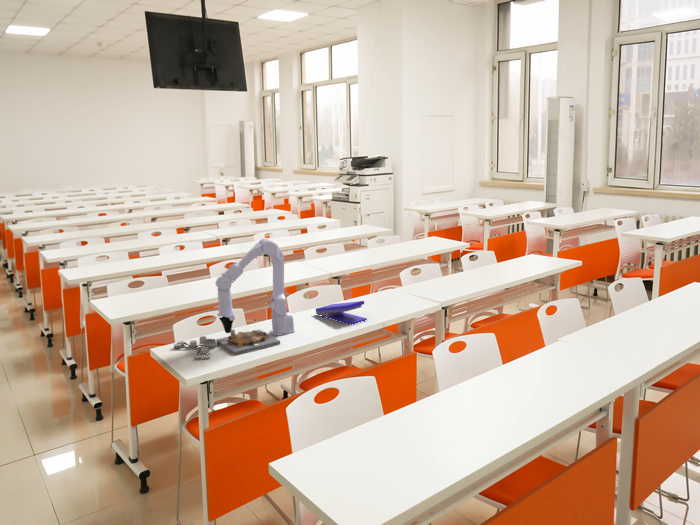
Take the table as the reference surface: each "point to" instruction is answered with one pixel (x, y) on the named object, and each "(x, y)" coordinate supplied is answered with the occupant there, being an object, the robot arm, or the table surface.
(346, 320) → the stapler
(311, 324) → the table surface
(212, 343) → the pulley system
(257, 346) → the board
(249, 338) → the brown flat round piece
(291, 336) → the table surface
